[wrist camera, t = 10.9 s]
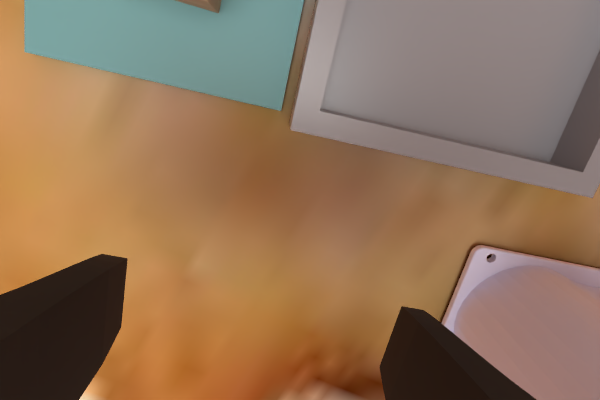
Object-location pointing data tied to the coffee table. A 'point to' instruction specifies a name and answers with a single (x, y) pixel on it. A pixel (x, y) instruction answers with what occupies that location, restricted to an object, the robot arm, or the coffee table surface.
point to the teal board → (174, 42)
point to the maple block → (204, 4)
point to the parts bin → (460, 84)
